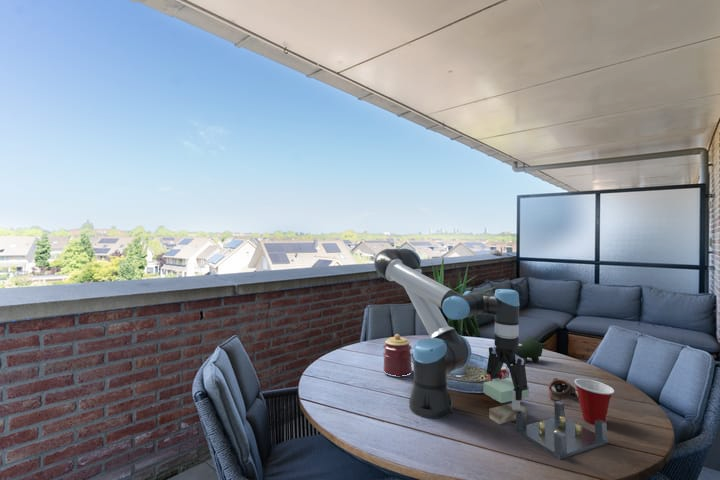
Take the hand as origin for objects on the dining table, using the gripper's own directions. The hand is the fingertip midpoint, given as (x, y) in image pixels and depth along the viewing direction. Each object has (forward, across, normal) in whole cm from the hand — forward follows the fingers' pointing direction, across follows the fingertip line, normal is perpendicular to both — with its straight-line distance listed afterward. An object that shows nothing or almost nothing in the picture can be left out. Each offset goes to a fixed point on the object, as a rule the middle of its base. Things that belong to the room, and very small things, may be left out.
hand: (505, 402), depth 113 cm
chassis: (+4, -16, -5) cm, 17 cm away
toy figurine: (+5, +39, -51) cm, 65 cm away
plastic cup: (+4, -14, -24) cm, 28 cm away
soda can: (+5, +11, -8) cm, 15 cm away
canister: (+6, +50, +14) cm, 52 cm away
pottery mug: (+5, +2, -30) cm, 31 cm away
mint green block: (-3, 0, 0) cm, 3 cm away
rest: (+5, -1, 0) cm, 5 cm away
